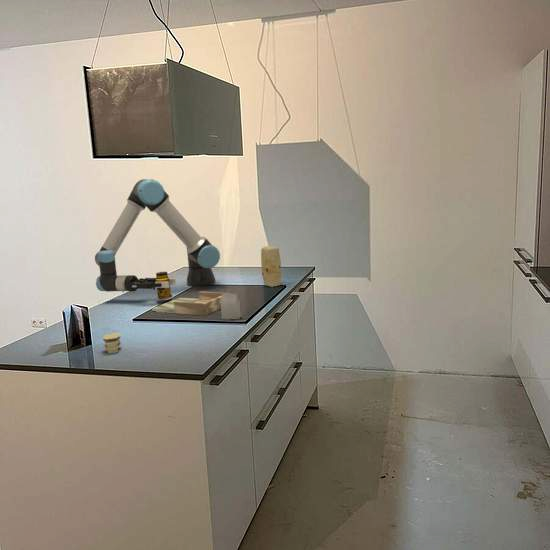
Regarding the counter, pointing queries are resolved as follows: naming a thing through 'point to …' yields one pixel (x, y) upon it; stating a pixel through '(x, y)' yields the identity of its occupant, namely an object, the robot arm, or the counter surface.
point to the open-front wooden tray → (193, 304)
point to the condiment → (163, 292)
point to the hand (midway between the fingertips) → (171, 283)
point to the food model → (271, 266)
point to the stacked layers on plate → (112, 342)
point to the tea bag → (230, 306)
